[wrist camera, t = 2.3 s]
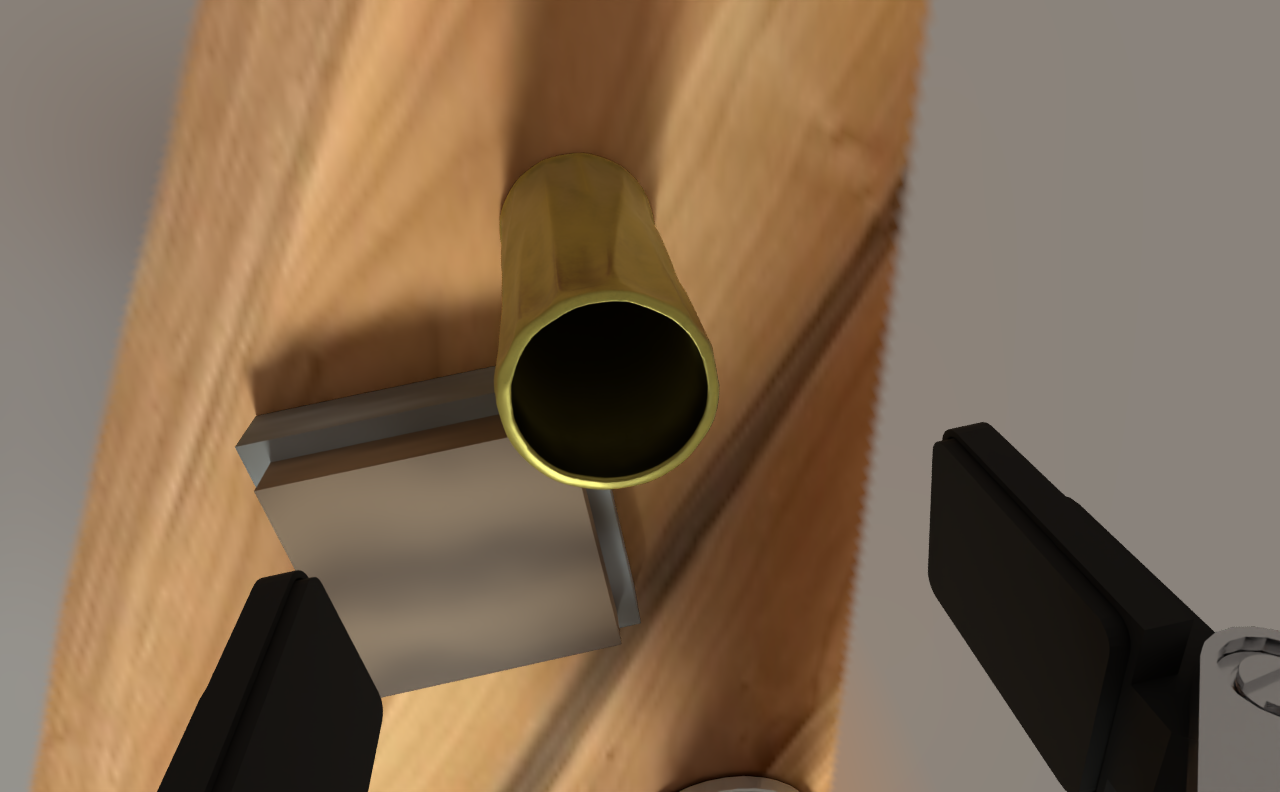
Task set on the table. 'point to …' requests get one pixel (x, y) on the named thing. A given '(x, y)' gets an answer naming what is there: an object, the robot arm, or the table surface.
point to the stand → (439, 533)
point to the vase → (596, 331)
